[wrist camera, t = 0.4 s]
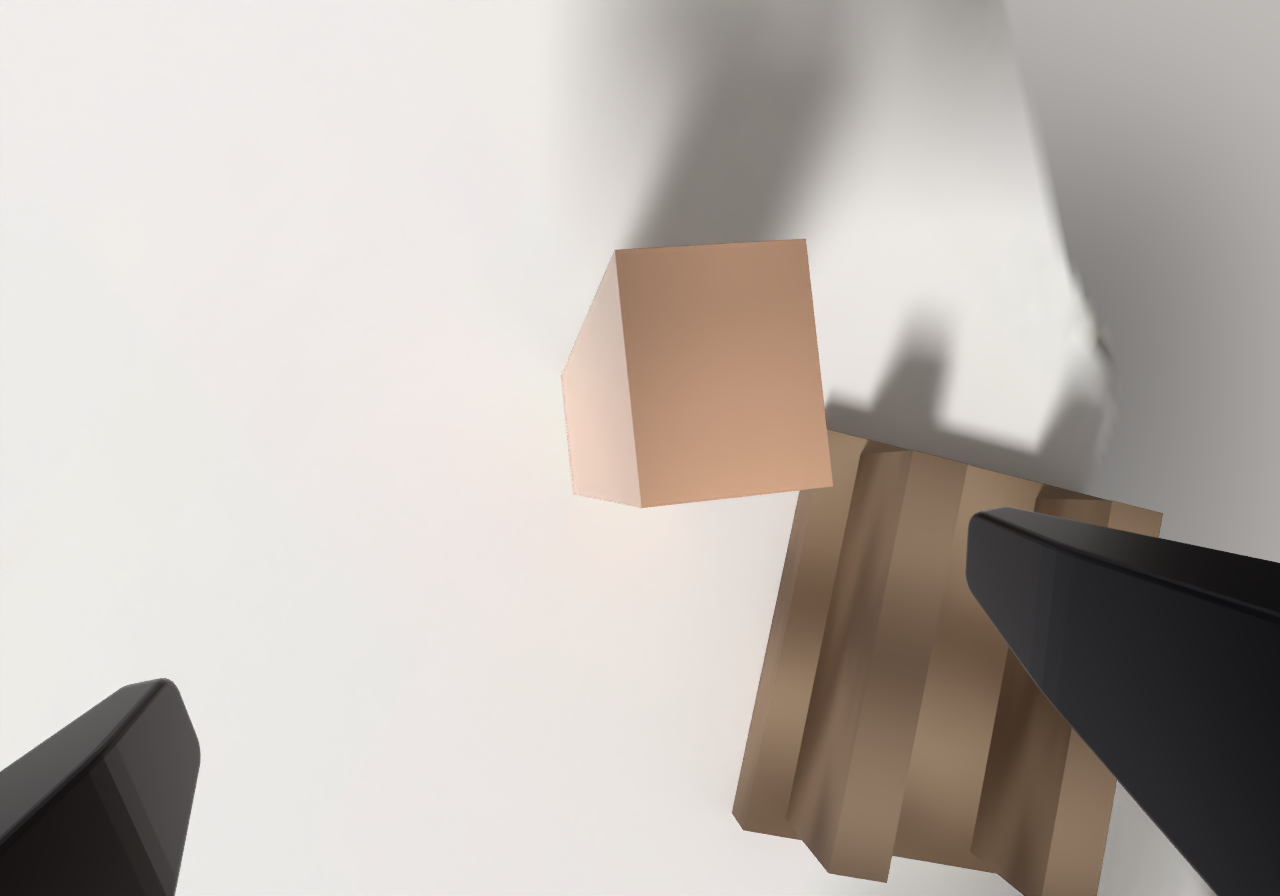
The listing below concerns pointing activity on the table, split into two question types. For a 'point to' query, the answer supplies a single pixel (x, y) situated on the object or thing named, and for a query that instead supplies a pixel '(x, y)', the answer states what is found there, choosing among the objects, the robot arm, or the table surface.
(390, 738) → the table surface
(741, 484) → the clay block
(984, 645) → the slot rack
